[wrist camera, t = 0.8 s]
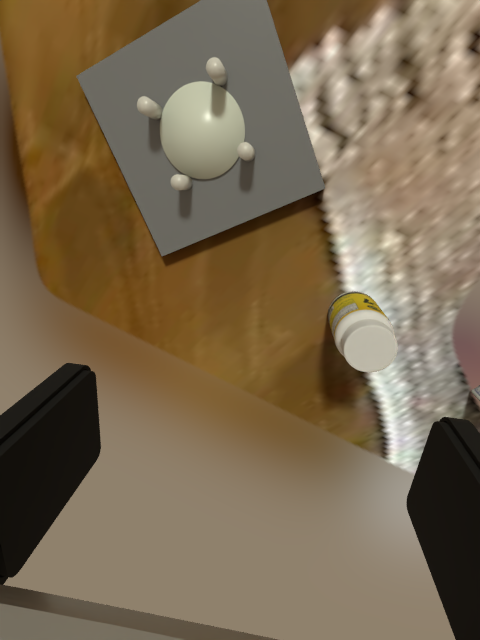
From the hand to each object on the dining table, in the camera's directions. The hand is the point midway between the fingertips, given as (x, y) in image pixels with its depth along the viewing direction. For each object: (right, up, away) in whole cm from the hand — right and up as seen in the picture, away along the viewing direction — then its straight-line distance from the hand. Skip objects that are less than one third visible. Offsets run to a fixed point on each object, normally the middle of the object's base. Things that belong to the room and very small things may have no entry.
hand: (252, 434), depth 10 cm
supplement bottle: (+11, +4, +25) cm, 27 cm away
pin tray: (-3, +19, +21) cm, 28 cm away
